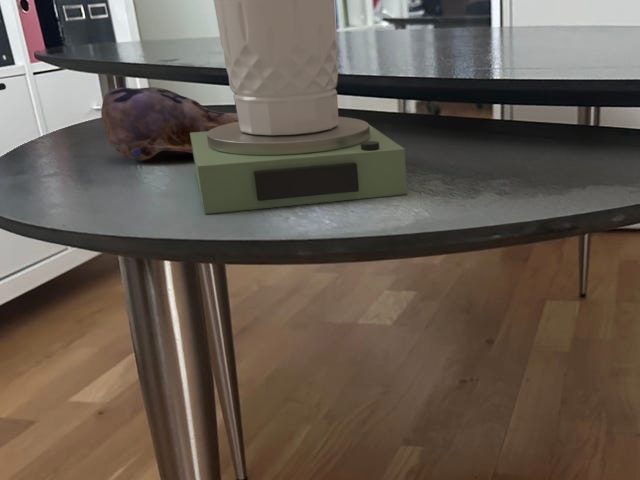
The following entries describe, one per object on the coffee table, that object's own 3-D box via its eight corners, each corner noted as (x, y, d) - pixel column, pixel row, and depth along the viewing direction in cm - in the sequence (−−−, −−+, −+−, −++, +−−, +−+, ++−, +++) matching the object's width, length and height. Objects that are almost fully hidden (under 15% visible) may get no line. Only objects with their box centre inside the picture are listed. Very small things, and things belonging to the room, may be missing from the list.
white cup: (227, 123, 61) (206, -30, 57) (336, 116, 63) (324, -32, 59) (234, 141, 54) (210, -31, 50) (356, 132, 56) (343, -34, 52)
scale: (196, 173, 64) (188, 127, 63) (365, 158, 68) (362, 114, 66) (205, 216, 52) (196, 160, 51) (408, 195, 56) (406, 143, 55)
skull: (271, 139, 73) (256, 66, 70) (248, 170, 67) (230, 92, 64) (136, 148, 74) (115, 76, 71) (100, 179, 68) (75, 102, 64)
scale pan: (204, 133, 62) (202, 122, 62) (352, 122, 65) (352, 111, 65) (213, 161, 53) (211, 148, 52) (386, 147, 56) (385, 134, 56)
